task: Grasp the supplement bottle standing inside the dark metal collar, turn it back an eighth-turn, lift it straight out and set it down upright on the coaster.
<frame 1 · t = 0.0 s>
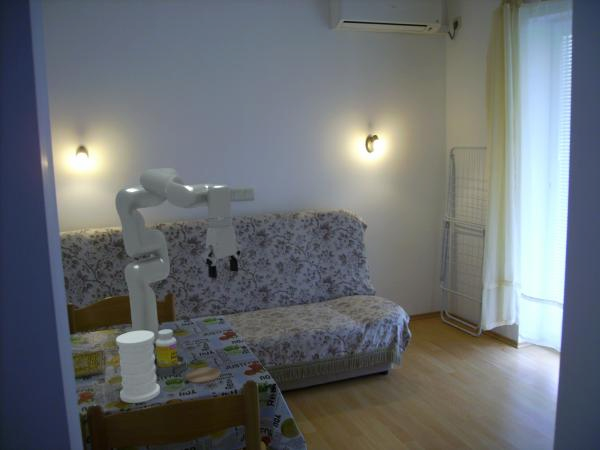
hand: (223, 274, 176), 31 cm above the table, tool pointing down, fingers open, 9 cm apart
coaster: (203, 375, 173), on the table
supplement bottle: (168, 368, 180), resting in collar
decorative container: (140, 394, 162), on the table
collar: (168, 368, 180), on the table
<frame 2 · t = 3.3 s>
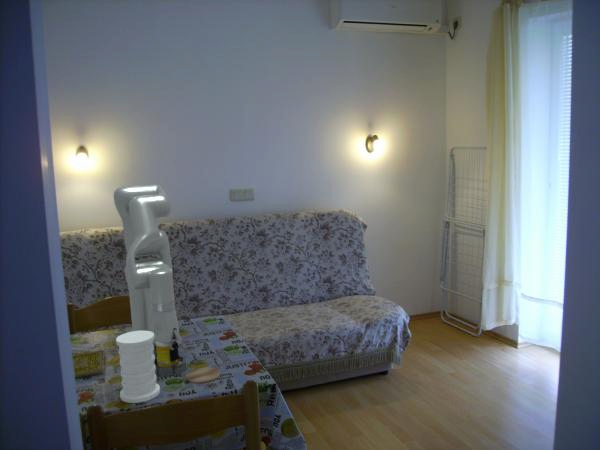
hand: (167, 357, 180), 4 cm above the table, tool pointing down, fingers closed on supplement bottle, 6 cm apart
supplement bottle: (168, 368, 180), resting in collar, touching gripper
everything else where it was.
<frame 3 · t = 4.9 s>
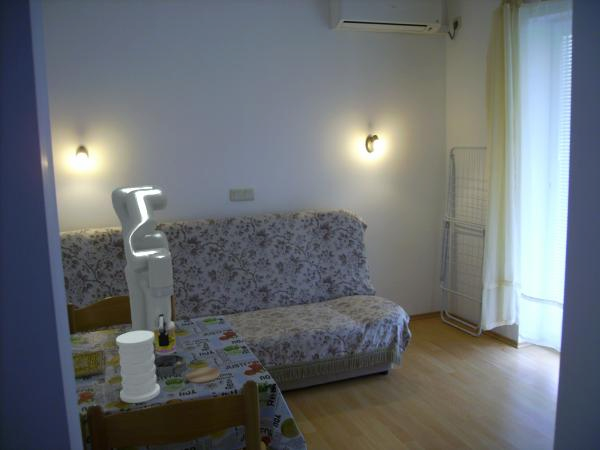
hand: (165, 341, 180), 9 cm above the table, tool pointing down, fingers closed on supplement bottle, 6 cm apart
supplement bottle: (166, 352, 180), point 5 cm above the table, touching gripper
everything else where it was.
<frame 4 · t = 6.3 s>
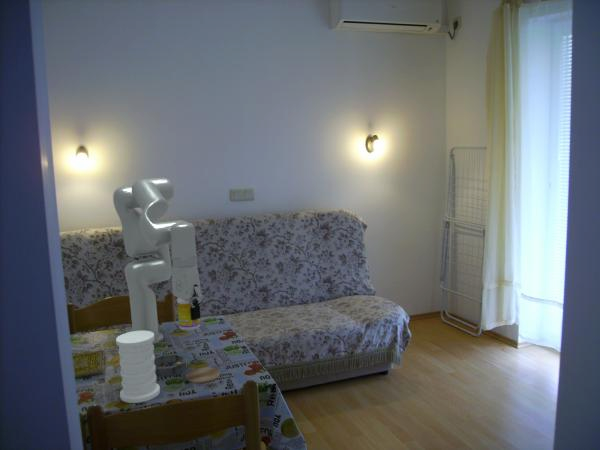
hand: (189, 316, 172), 19 cm above the table, tool pointing down, fingers closed on supplement bottle, 6 cm apart
supplement bottle: (190, 328, 172), point 15 cm above the table, touching gripper
everything else where it was.
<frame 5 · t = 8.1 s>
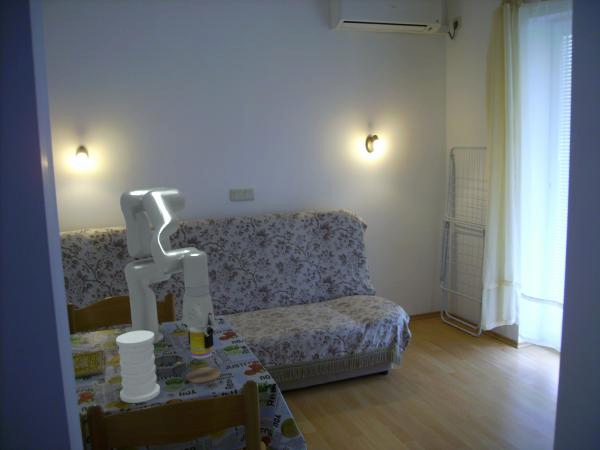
hand: (201, 344, 171), 11 cm above the table, tool pointing down, fingers closed on supplement bottle, 6 cm apart
supplement bottle: (202, 356, 172), point 7 cm above the table, touching gripper
everything else where it was.
when the fingers open (5 cm above the table, at t = 9.6 s): supplement bottle stays where it is, resting on coaster.
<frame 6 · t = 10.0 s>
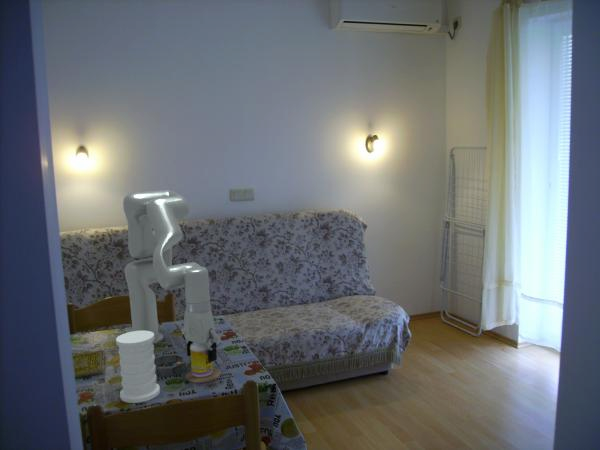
hand: (202, 357, 172), 6 cm above the table, tool pointing down, fingers open, 9 cm apart
supplement bottle: (202, 374, 173), resting on coaster
everything else where it was.
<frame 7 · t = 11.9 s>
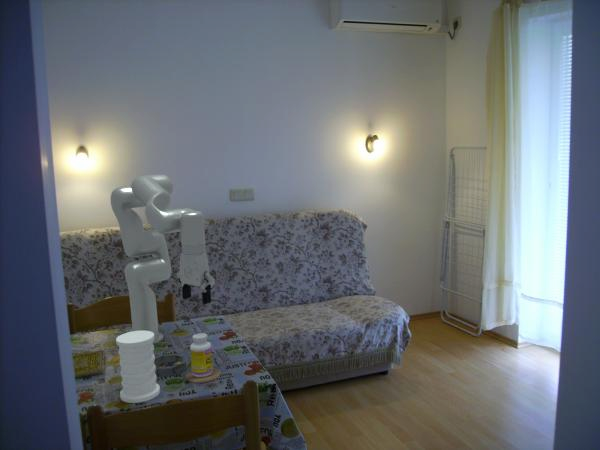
hand: (196, 300, 176), 23 cm above the table, tool pointing down, fingers open, 9 cm apart
nothing on the table moved.
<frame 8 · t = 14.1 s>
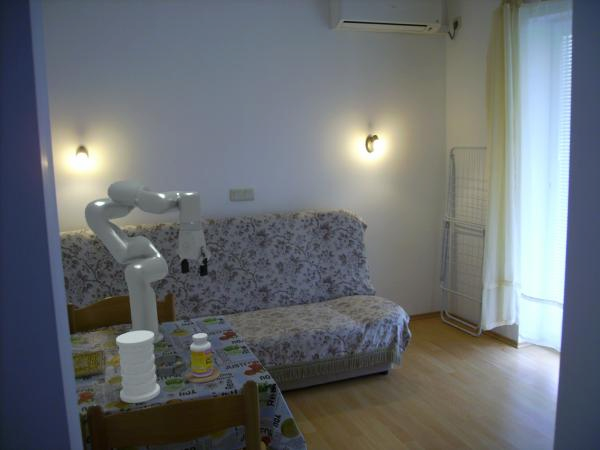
hand: (194, 274, 191), 28 cm above the table, tool pointing down, fingers open, 9 cm apart
nothing on the table moved.
at the end: supplement bottle inside the target area on the coaster (0.3 cm from its centre), point 0.4 cm above the coaster's base; supplement bottle tilted 0°; the gripper is holding nothing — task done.
